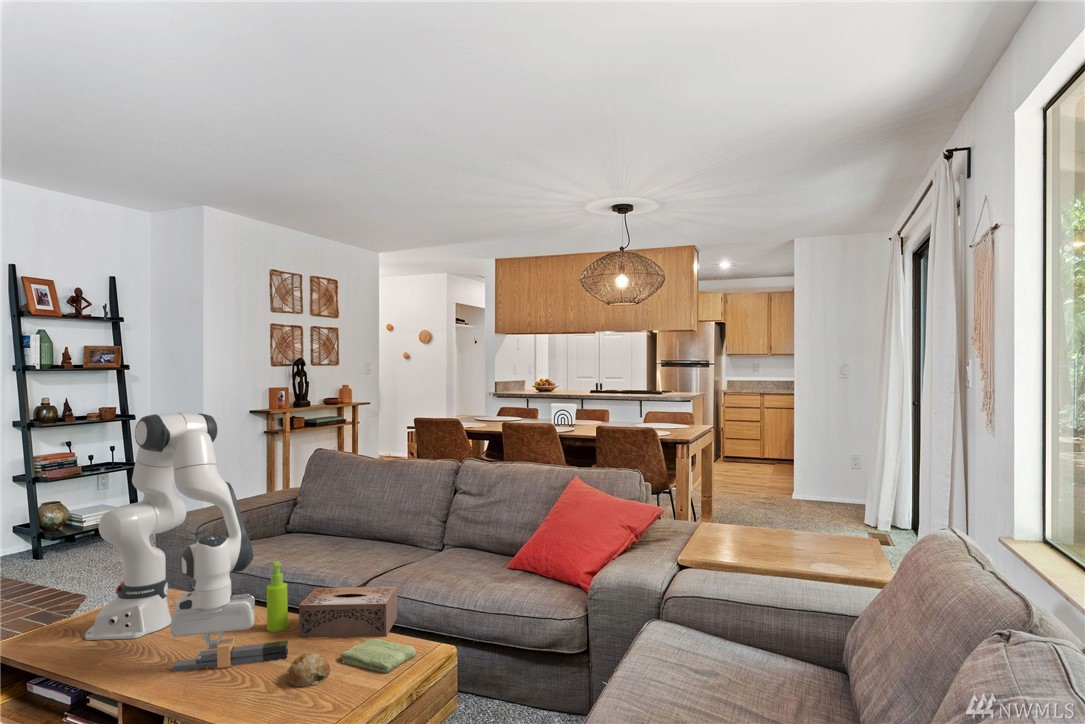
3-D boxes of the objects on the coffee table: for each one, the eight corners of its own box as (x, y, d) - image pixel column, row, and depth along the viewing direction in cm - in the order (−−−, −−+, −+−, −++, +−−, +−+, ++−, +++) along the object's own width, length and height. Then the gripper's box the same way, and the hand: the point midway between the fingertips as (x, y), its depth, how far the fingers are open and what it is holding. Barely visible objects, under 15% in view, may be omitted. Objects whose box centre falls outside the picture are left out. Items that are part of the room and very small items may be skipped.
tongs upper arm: (195, 662, 169) (194, 656, 169) (198, 656, 173) (198, 651, 173) (286, 651, 175) (286, 645, 175) (288, 645, 178) (287, 640, 178)
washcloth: (371, 644, 185) (371, 633, 185) (418, 657, 176) (418, 645, 176) (336, 663, 173) (336, 651, 173) (386, 677, 165) (385, 665, 165)
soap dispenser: (281, 621, 201) (281, 558, 201) (290, 627, 196) (290, 562, 196) (262, 627, 197) (262, 562, 197) (271, 633, 192) (271, 567, 192)
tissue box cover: (299, 638, 189) (299, 605, 189) (316, 619, 203) (315, 588, 203) (386, 637, 189) (386, 603, 189) (397, 617, 203) (396, 586, 203)
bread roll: (299, 704, 158) (308, 679, 157) (276, 677, 163) (284, 652, 162) (331, 687, 167) (340, 662, 165) (308, 661, 172) (316, 637, 170)
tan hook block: (217, 668, 170) (217, 646, 170) (222, 658, 175) (222, 637, 175) (229, 666, 170) (229, 645, 170) (234, 656, 176) (234, 636, 176)
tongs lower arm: (173, 672, 168) (173, 665, 168) (177, 666, 171) (177, 660, 171) (286, 659, 175) (286, 652, 175) (288, 653, 178) (287, 647, 178)
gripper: (256, 588, 178) (257, 638, 178) (175, 596, 173) (176, 647, 173) (252, 596, 172) (253, 648, 171) (168, 604, 167) (168, 657, 167)
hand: (213, 647), depth 172 cm, fingers closed
